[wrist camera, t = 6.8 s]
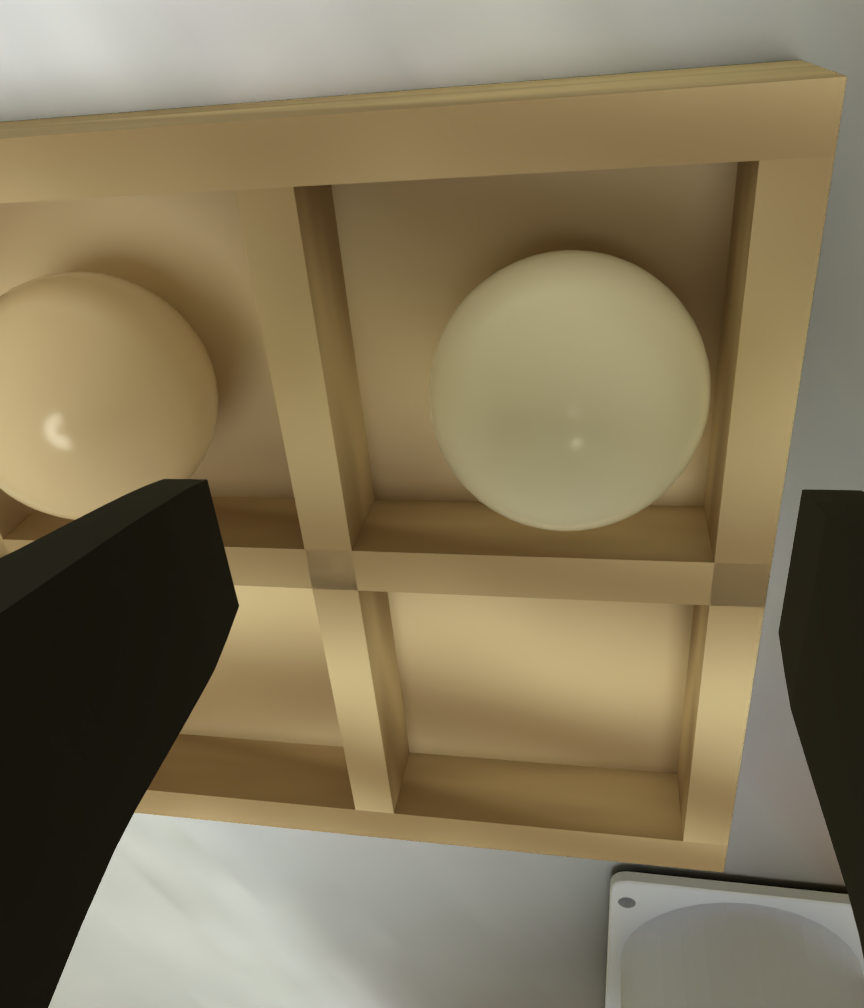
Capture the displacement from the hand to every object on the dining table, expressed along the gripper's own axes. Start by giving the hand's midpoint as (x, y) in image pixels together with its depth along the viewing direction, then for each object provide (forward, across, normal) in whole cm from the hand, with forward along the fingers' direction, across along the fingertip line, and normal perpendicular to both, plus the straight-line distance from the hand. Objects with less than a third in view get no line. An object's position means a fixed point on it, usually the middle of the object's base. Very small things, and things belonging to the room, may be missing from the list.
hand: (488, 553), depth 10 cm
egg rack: (+8, +4, +4) cm, 10 cm away
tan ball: (+7, +8, 0) cm, 10 cm away
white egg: (+7, 0, 0) cm, 7 cm away
